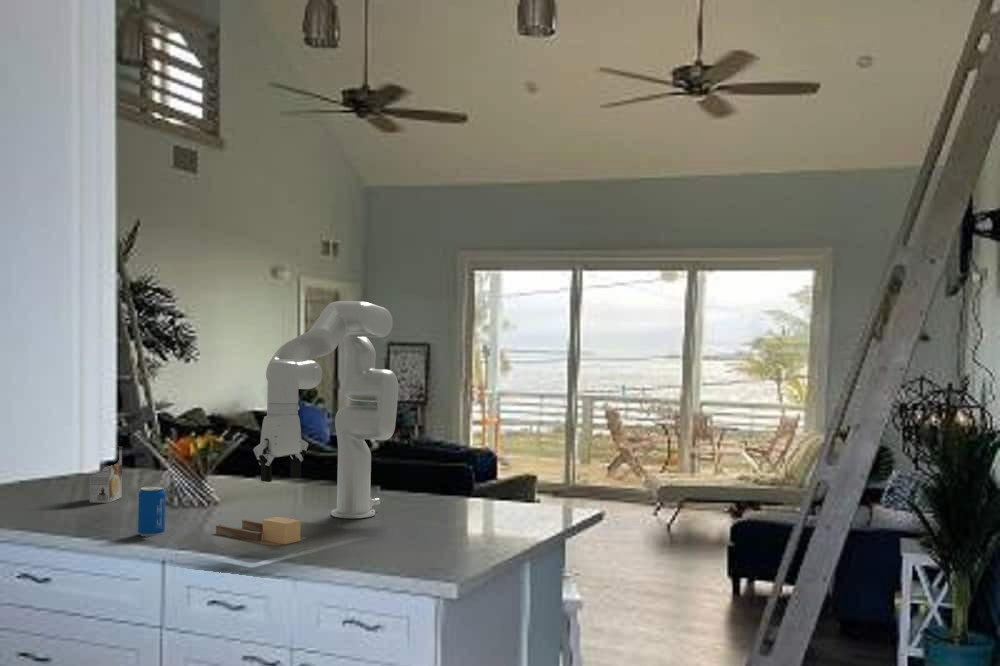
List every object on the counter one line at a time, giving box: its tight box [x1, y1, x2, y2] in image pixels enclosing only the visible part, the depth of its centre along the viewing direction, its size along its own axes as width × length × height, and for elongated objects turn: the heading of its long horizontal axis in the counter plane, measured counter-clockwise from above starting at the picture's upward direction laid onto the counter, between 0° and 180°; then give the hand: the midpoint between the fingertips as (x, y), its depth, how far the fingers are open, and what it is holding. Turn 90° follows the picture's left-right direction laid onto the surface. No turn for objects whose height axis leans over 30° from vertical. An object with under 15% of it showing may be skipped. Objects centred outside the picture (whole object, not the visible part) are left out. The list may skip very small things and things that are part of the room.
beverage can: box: [137, 485, 167, 538], centre depth 243 cm, size 6×6×12 cm
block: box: [262, 516, 302, 545], centre depth 235 cm, size 5×8×5 cm, turn 56°
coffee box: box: [89, 446, 123, 504], centre depth 290 cm, size 9×6×16 cm
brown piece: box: [214, 519, 308, 547], centre depth 239 cm, size 12×22×3 cm, turn 56°
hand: (280, 479), depth 235 cm, fingers open, 9 cm apart
